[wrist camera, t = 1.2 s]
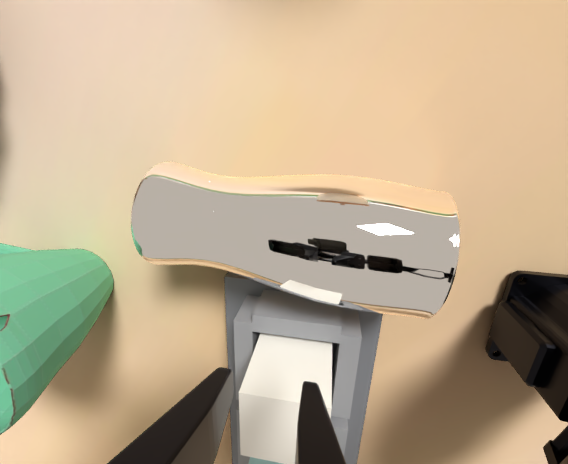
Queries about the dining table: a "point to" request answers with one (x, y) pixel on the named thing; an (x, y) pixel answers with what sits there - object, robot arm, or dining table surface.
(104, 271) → the mug
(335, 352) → the keypad base
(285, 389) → the key ivory
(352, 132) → the dining table surface
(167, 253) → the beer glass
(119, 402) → the dining table surface
